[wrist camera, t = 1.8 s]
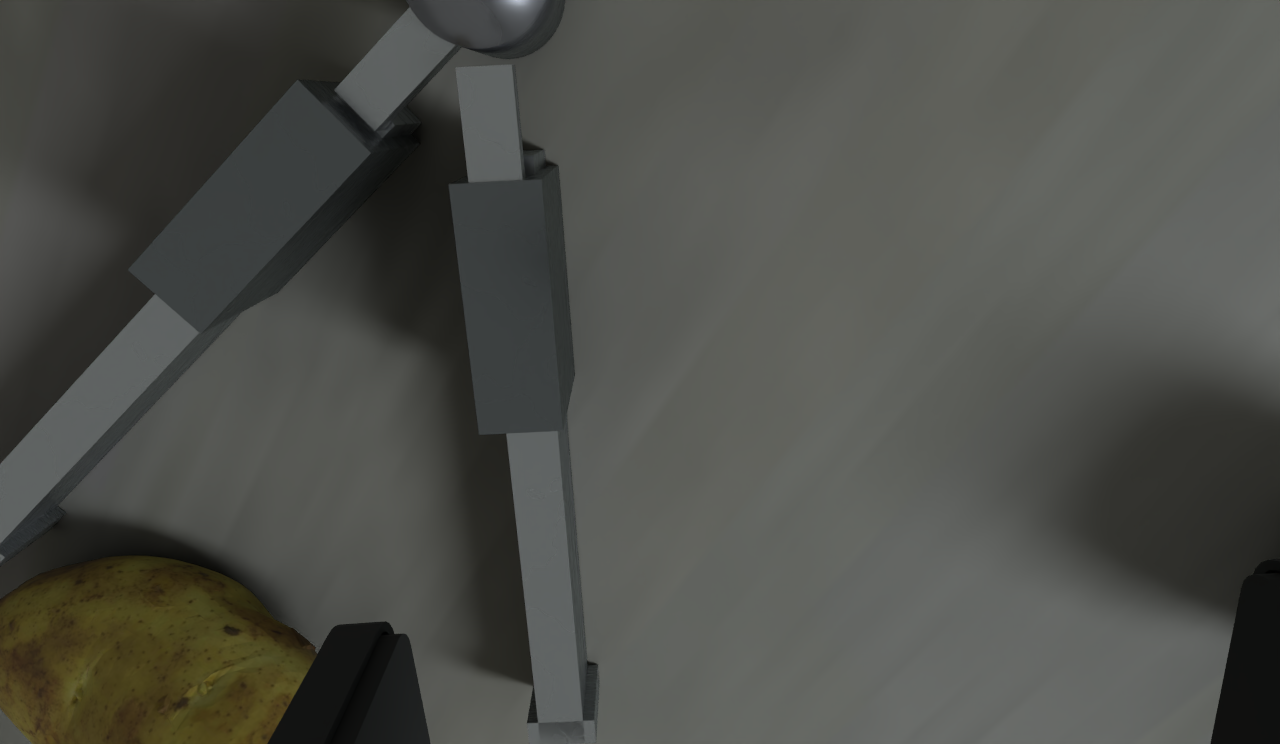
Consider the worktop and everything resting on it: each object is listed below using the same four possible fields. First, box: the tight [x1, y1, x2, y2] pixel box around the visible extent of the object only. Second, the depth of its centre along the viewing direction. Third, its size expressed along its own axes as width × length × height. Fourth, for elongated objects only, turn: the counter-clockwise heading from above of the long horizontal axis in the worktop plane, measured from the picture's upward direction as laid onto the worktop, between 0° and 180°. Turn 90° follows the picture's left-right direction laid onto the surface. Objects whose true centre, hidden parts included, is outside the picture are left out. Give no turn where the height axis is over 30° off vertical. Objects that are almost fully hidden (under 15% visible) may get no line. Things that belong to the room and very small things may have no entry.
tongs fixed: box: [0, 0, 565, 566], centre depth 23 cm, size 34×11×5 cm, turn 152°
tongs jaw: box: [448, 64, 599, 744], centre depth 26 cm, size 23×2×5 cm, turn 3°
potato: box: [0, 555, 317, 744], centre depth 27 cm, size 8×13×8 cm, turn 49°
